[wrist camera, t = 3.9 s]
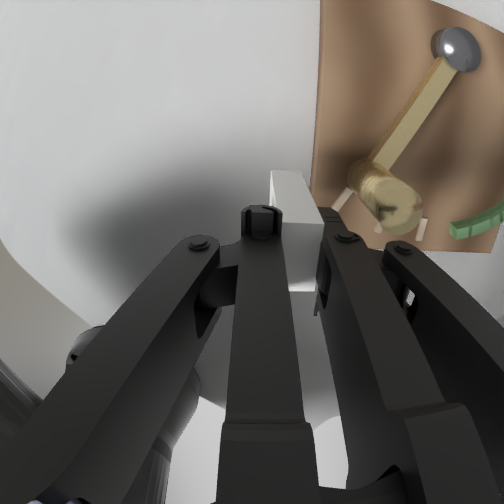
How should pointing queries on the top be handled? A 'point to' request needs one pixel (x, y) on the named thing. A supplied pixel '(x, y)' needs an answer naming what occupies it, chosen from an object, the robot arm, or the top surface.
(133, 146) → the top surface
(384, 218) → the lever
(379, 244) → the dial board
